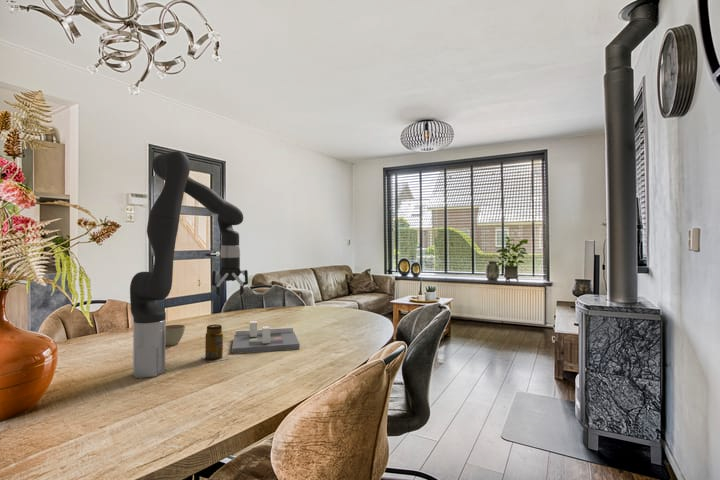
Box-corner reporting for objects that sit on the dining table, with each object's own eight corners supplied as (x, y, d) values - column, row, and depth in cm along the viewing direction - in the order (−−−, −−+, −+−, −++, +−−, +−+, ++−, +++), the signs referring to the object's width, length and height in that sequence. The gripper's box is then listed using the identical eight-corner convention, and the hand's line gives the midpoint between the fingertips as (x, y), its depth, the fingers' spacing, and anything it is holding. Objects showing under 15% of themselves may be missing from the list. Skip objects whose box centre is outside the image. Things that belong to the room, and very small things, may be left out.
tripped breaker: (270, 343, 151) (270, 328, 151) (262, 343, 150) (262, 328, 150) (269, 340, 155) (269, 326, 155) (262, 341, 154) (262, 326, 154)
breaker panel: (299, 348, 151) (299, 338, 151) (231, 353, 144) (232, 343, 144) (293, 335, 173) (293, 326, 173) (234, 339, 165) (234, 330, 165)
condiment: (220, 353, 144) (220, 322, 144) (228, 359, 138) (228, 326, 138) (200, 357, 140) (200, 325, 140) (207, 363, 133) (208, 329, 133)
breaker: (256, 336, 161) (257, 322, 161) (249, 337, 160) (249, 323, 160) (256, 334, 165) (256, 320, 165) (249, 334, 164) (249, 321, 164)
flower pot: (177, 347, 152) (177, 329, 152) (153, 347, 152) (153, 329, 152) (189, 340, 162) (189, 324, 162) (166, 340, 162) (166, 324, 162)
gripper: (211, 257, 149) (211, 297, 149) (248, 256, 154) (248, 296, 154) (212, 256, 156) (212, 294, 156) (248, 255, 161) (247, 293, 161)
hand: (230, 295), depth 155 cm, fingers open, 8 cm apart
